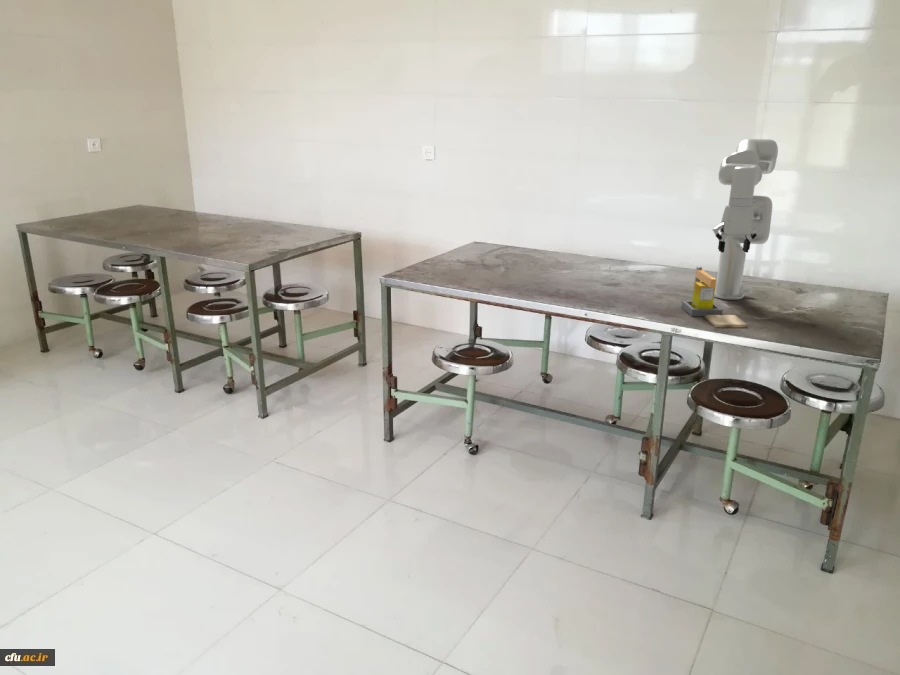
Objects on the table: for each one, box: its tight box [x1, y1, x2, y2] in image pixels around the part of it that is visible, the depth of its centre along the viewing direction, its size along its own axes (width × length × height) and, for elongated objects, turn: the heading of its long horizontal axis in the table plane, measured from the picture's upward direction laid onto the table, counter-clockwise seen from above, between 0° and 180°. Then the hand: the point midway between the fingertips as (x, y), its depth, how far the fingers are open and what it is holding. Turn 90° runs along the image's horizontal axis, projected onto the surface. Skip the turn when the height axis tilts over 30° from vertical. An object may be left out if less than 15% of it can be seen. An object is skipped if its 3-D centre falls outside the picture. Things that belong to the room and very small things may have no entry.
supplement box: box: [691, 281, 716, 309], centre depth 253 cm, size 6×6×11 cm
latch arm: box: [694, 266, 717, 288], centre depth 253 cm, size 16×2×15 cm, turn 0°
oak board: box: [703, 314, 748, 328], centre depth 243 cm, size 11×11×1 cm
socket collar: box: [681, 300, 724, 317], centre depth 255 cm, size 11×11×2 cm
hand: (733, 251), depth 243 cm, fingers open, 8 cm apart
